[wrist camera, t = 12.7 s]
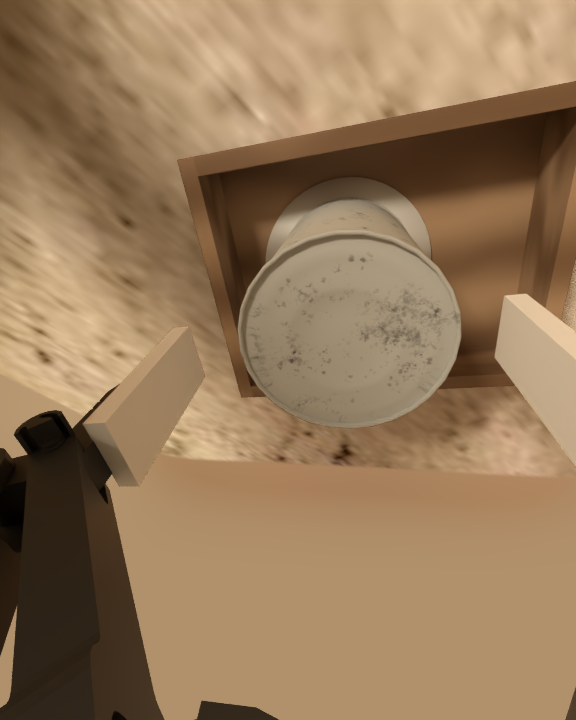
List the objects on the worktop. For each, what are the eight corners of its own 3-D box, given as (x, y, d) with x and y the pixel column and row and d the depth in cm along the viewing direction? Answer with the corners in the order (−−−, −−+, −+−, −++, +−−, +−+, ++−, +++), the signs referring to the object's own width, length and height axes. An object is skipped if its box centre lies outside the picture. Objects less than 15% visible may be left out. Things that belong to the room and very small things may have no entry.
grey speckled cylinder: (378, 342, 28) (396, 452, 18) (267, 303, 28) (218, 392, 18) (439, 224, 23) (513, 280, 13) (304, 176, 23) (269, 192, 13)
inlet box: (206, 159, 25) (177, 160, 20) (561, 90, 20) (619, 72, 16) (255, 365, 33) (241, 397, 28) (515, 349, 28) (545, 384, 24)
